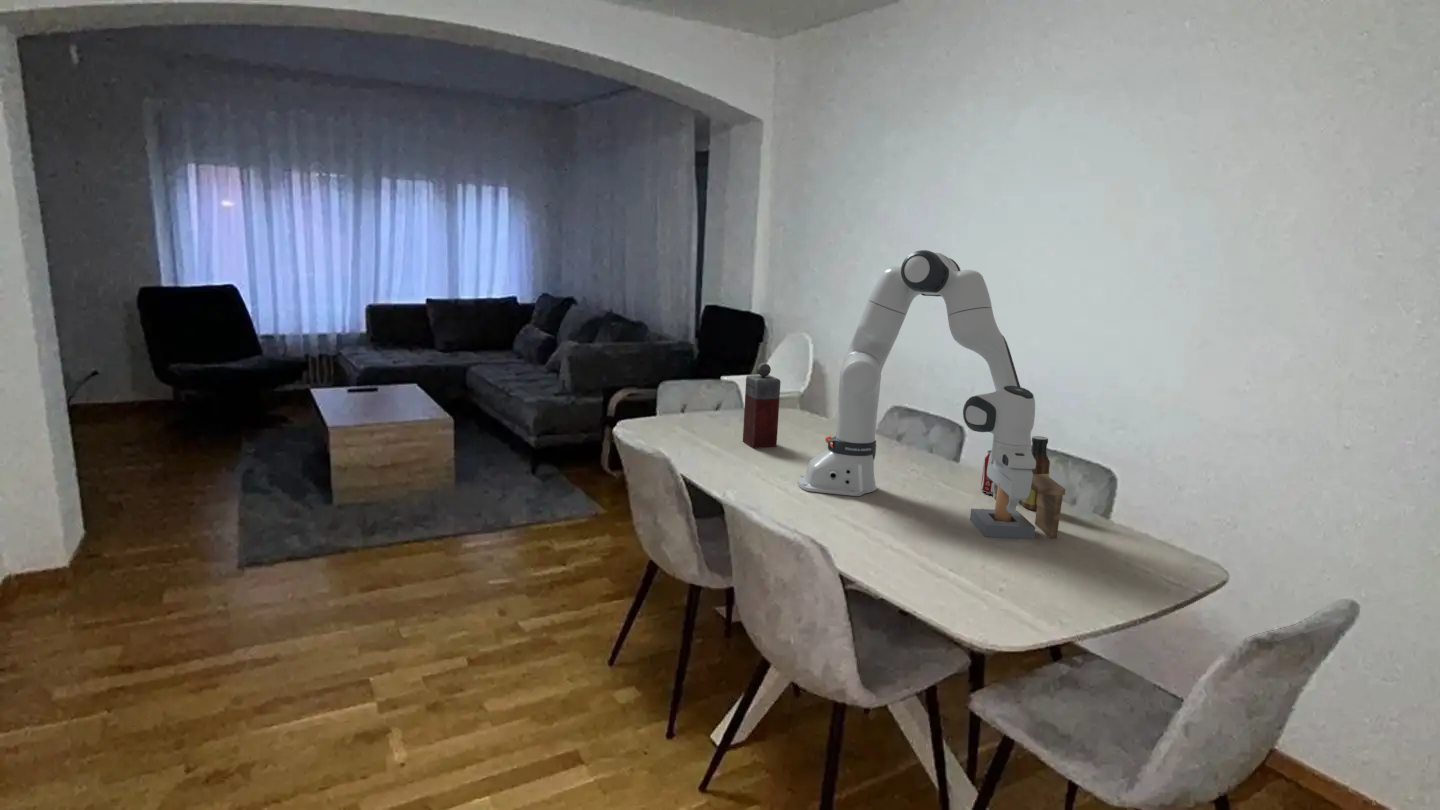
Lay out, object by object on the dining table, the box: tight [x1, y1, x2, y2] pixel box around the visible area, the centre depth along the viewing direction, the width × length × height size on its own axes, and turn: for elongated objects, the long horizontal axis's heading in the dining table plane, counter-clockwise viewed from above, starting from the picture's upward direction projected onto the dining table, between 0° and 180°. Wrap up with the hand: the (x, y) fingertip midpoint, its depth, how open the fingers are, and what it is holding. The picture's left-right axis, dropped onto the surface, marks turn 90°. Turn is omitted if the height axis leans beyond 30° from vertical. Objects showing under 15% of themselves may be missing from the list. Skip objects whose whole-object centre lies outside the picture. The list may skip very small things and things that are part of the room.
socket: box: [969, 508, 1036, 540], centre depth 198 cm, size 12×12×3 cm
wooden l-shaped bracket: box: [1031, 474, 1066, 539], centre depth 197 cm, size 6×12×13 cm, turn 0°
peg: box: [994, 482, 1012, 522], centre depth 197 cm, size 4×4×12 cm
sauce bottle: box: [1021, 435, 1051, 511], centre depth 214 cm, size 7×6×20 cm
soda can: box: [980, 449, 994, 496], centre depth 227 cm, size 7×7×12 cm
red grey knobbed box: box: [742, 362, 782, 449], centre depth 268 cm, size 9×11×28 cm
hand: (1003, 505), depth 197 cm, fingers open, 8 cm apart
